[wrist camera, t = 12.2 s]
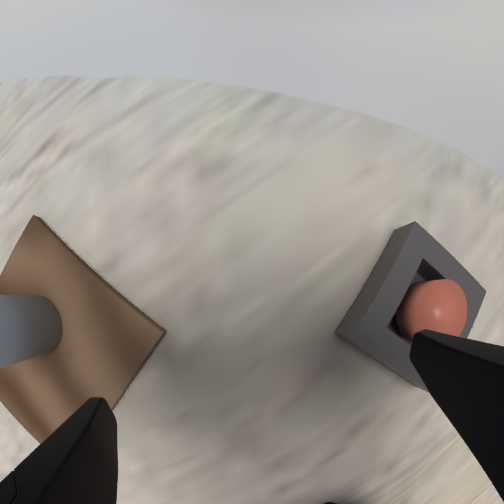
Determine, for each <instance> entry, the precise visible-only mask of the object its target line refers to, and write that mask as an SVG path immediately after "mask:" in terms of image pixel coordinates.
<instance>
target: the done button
mask: <svg viewBox="0 0 504 504" xmlns="http://www.w3.org/2000/svg"><path fill="white" fill-rule="evenodd" d="M466 318H467V301H466V297H465V294H464V292H463V290H462V289H461V287H460V286H459V285H458V284H457V283H456V282H454V281H452V280H449V279H441V280H432V281H422V282H416V283H413V284H411V285H410V286H409V288H408V289H407V291H406V293H405V295H404V297H403V299H402V301H401V303H400V305H399V306H398V308H397V310H396V321H397V325H398V328H399V330H400V332H401V334H402V335H403V336H404V337H405V338H406V339H408V340H409V341H412V338H413V335H414V334H415V333H416V332H418V331H421V330H423V329H428V330H432V331H436V332H440V333H445V334H449V335H453V336H458V337H459V336H460V334H461V332H462V331H463V328H464V326H465V323H466Z"/></svg>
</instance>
